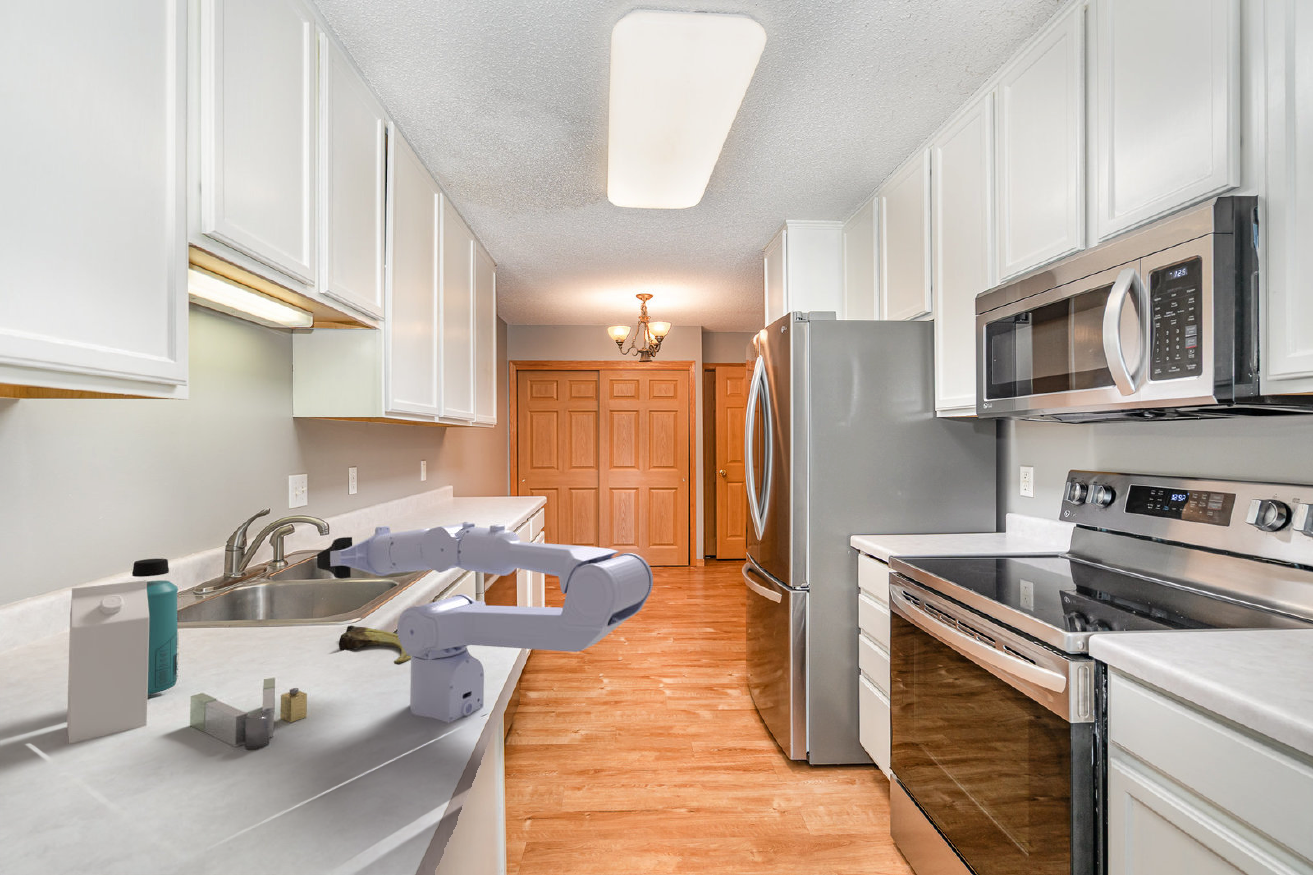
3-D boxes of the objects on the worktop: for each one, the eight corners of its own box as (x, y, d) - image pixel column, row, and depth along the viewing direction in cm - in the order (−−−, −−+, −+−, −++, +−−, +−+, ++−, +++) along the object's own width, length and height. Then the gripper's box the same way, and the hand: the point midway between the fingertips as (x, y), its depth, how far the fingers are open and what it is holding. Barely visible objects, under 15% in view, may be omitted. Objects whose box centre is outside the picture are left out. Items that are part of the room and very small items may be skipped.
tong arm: (273, 736, 76) (274, 706, 76) (261, 739, 75) (261, 708, 75) (274, 704, 85) (275, 677, 85) (263, 706, 85) (263, 679, 85)
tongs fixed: (273, 746, 74) (274, 712, 74) (247, 756, 72) (248, 721, 72) (215, 719, 81) (216, 688, 81) (190, 727, 79) (190, 696, 79)
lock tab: (306, 717, 81) (306, 688, 81) (290, 722, 80) (291, 694, 80) (296, 712, 83) (296, 685, 83) (280, 718, 81) (280, 690, 81)
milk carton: (66, 736, 79) (70, 583, 79) (140, 719, 84) (143, 576, 84) (68, 756, 74) (73, 593, 74) (146, 737, 79) (150, 584, 79)
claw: (320, 649, 114) (321, 630, 114) (368, 635, 123) (369, 617, 123) (397, 669, 105) (398, 649, 106) (443, 652, 115) (444, 634, 115)
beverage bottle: (182, 697, 91) (185, 559, 91) (122, 711, 86) (126, 565, 86) (172, 686, 95) (175, 553, 96) (114, 699, 90) (118, 559, 91)
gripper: (444, 521, 96) (383, 530, 102) (360, 524, 83) (296, 534, 89) (446, 568, 95) (384, 574, 101) (361, 579, 82) (296, 584, 88)
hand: (343, 558), depth 95 cm, fingers open, 7 cm apart
